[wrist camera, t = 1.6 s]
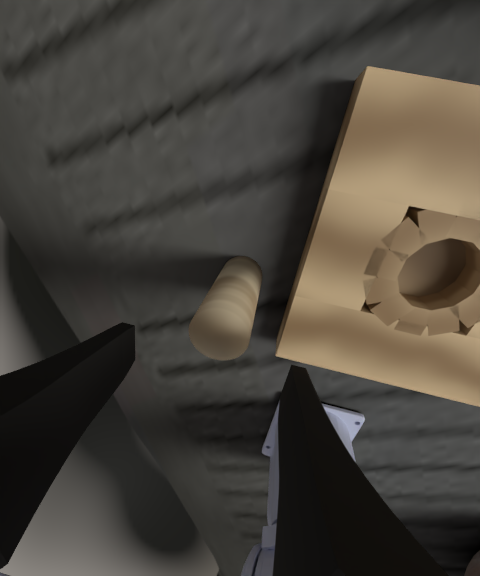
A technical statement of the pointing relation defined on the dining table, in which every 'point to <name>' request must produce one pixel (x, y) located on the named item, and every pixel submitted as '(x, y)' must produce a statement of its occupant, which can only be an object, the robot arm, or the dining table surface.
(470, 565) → the ceramic pitcher
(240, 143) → the dining table surface
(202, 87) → the dining table surface
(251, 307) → the dowel
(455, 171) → the bore board
